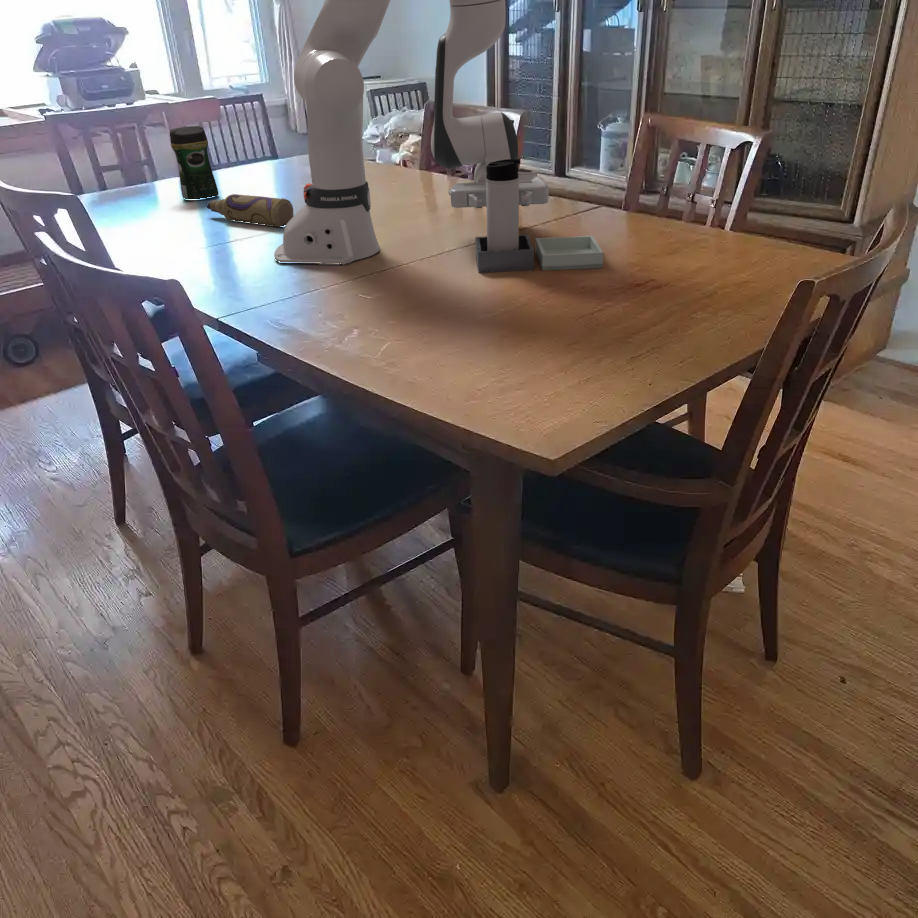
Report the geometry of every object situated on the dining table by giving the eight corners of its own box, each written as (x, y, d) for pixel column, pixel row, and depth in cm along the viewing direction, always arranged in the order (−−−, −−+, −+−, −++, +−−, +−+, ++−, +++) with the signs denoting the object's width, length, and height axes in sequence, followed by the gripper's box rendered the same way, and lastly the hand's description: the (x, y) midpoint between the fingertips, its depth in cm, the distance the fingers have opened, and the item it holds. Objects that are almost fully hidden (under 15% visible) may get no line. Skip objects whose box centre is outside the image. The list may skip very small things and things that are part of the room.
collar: (478, 272, 156) (478, 252, 154) (475, 256, 165) (475, 237, 163) (533, 270, 156) (534, 250, 154) (528, 253, 165) (528, 234, 163)
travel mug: (518, 268, 157) (518, 162, 147) (485, 267, 159) (483, 162, 148) (522, 258, 163) (522, 156, 152) (490, 258, 164) (488, 156, 153)
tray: (542, 270, 156) (542, 255, 154) (535, 252, 166) (535, 238, 164) (602, 267, 156) (603, 252, 154) (592, 249, 166) (592, 235, 164)
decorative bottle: (297, 223, 194) (293, 195, 191) (277, 231, 189) (272, 203, 185) (222, 213, 206) (216, 186, 202) (200, 220, 200) (194, 193, 197)
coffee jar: (214, 192, 226) (200, 122, 216) (222, 198, 220) (208, 126, 210) (179, 198, 222) (164, 127, 212) (186, 203, 216) (171, 130, 206)
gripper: (447, 174, 168) (449, 189, 156) (543, 170, 169) (552, 184, 157) (448, 204, 172) (450, 221, 160) (543, 200, 172) (551, 216, 160)
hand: (501, 203), depth 158 cm, fingers open, 8 cm apart
